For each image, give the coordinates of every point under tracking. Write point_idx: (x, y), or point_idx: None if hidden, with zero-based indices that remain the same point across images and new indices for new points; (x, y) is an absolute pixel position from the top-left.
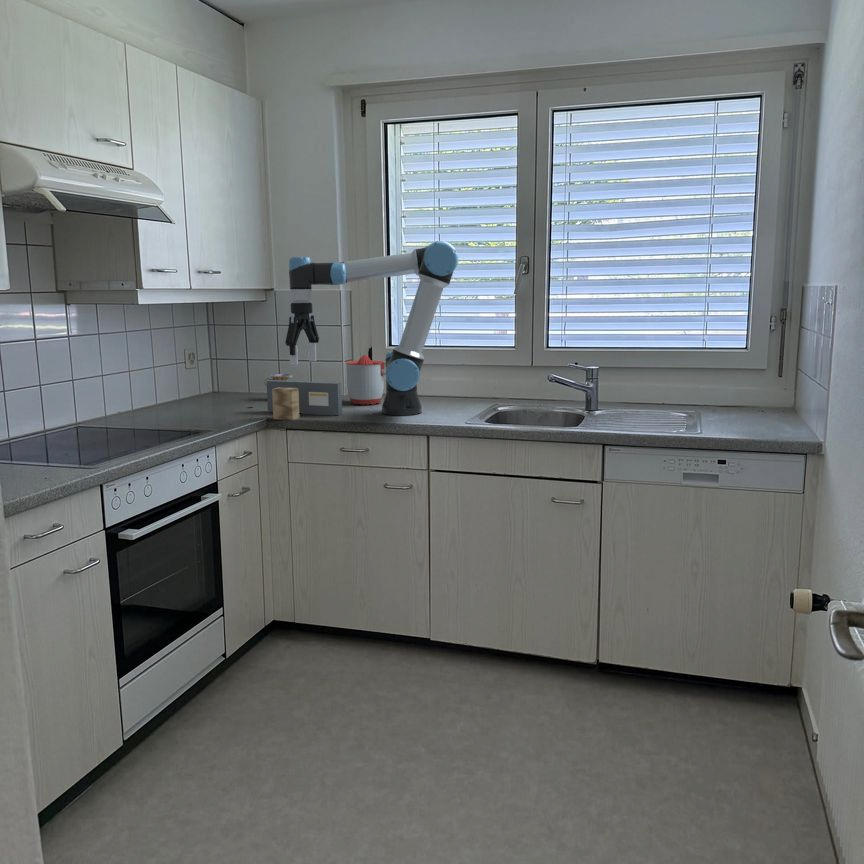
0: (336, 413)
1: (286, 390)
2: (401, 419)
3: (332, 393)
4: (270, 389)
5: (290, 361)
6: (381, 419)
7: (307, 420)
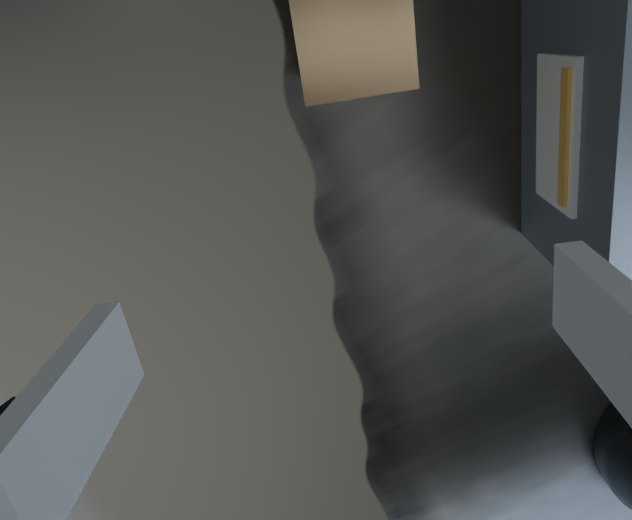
0: (525, 225)
1: (297, 56)
2: (513, 495)
3: None
4: None
5: (81, 328)
6: (488, 438)
7: (333, 170)
